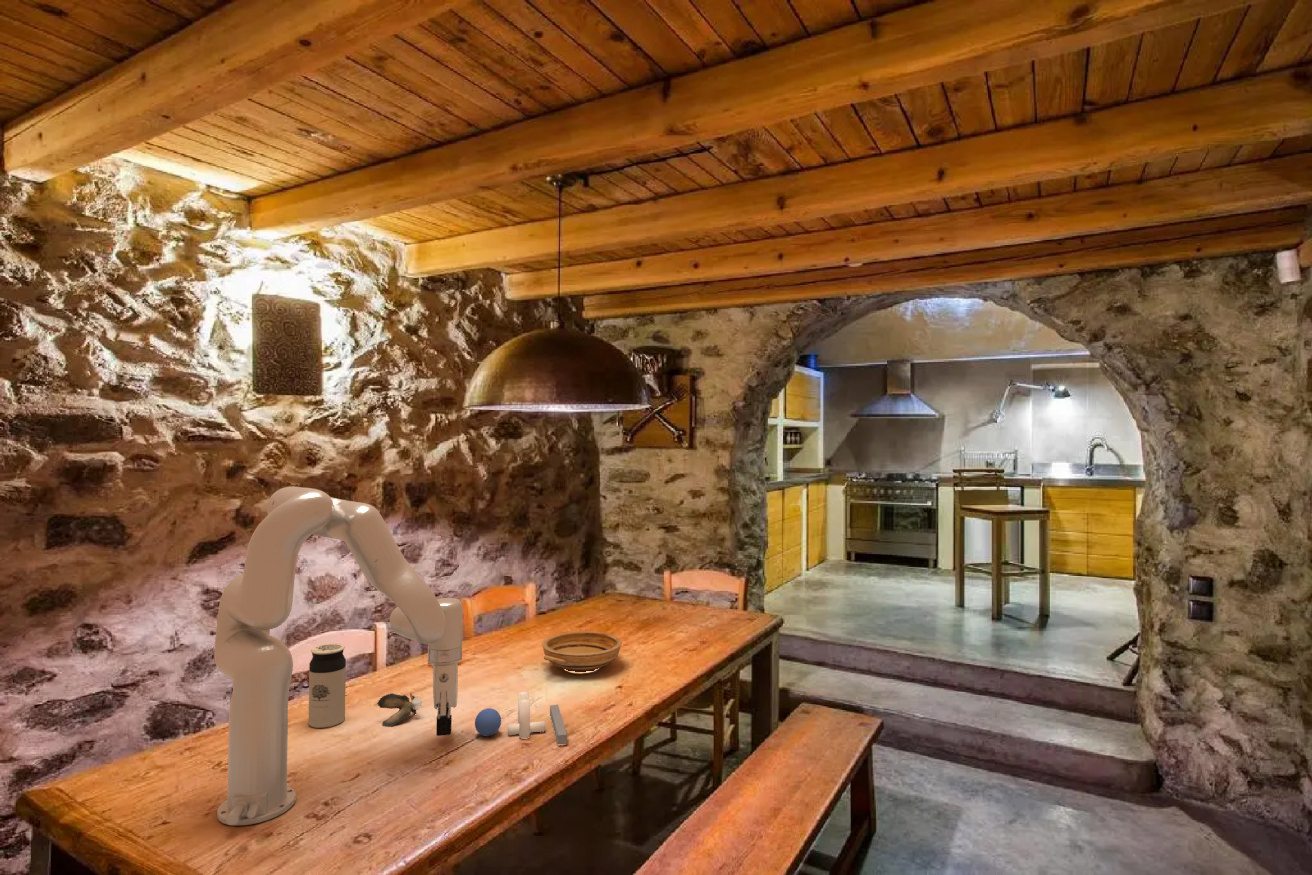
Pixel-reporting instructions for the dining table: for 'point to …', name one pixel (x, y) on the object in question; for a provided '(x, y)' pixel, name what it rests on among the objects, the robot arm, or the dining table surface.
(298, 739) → the dining table surface
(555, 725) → the gray rectangular bar
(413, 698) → the eagle figurine
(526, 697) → the pin
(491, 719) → the ball
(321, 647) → the travel mug
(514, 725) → the front pin
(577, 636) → the ceramic bowl
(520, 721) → the pin
